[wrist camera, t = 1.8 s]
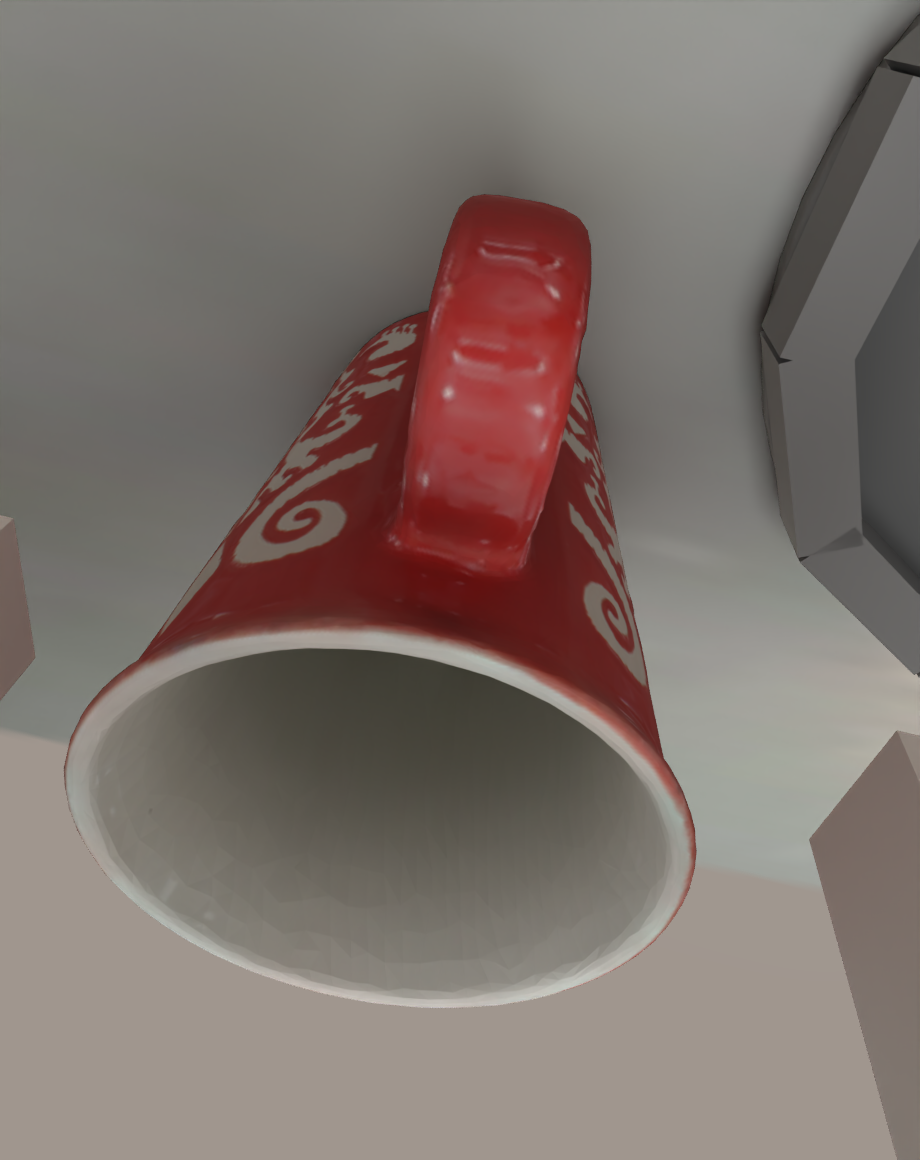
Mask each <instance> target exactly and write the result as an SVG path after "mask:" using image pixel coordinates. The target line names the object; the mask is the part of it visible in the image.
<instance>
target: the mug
mask: <svg viewBox="0 0 920 1160" xmlns="http://www.w3.org/2000/svg"><path fill="white" fill-rule="evenodd" d="M590 288H591V244H590V240H589V235H588V230H587V229H586V227H585V226H584V224H583V223H582V222H581V220H580V219H579V218H578V217H577V216H575V215H573V214H571V213H570V212H568V211H566V210H564V209H562V208H558V207H555V206H552V205H549V204H545V203H542V202H536V201H530V200H525V199H519V198H513V197H507V196H501V195H486V194H484V195H478V196H472V197H470V198H469V199H467V200H466V201H465V202H464V203H463V204H462V205H461V206H460V207H459V209H458V211H457V213H456V215H455V218H454V220H453V223H452V225H451V228H450V231H449V234H448V238H447V241H446V244H445V246H444V249H443V253H442V257H441V261H440V265H439V269H438V273H437V277H436V280H435V284H434V287H433V291H432V295H431V300H430V305H429V311H427V312H423V313H419V314H416V315H413V316H410V317H407V318H405V319H403V320H401V321H398V322H396V323H394V324H392V325H390V326H389V327H387V328H385V329H384V330H382V331H381V332H379V333H378V334H377V335H376V336H374V337H373V338H372V339H371V340H370V341H369V342H368V343H366V344H365V345H364V346H363V348H362V349H361V350H360V351H359V352H358V353H357V354H356V356H355V357H354V358H353V359H352V361H351V362H350V363H349V365H348V366H347V367H346V369H345V370H344V372H343V373H342V375H341V376H340V377H339V378H338V379H337V380H336V382H335V383H334V385H333V387H332V389H331V390H330V392H329V393H328V395H327V396H326V398H325V399H324V401H323V402H322V403H321V405H320V406H319V407H318V409H317V410H316V411H315V413H314V414H313V416H312V417H311V418H310V420H309V421H308V423H307V424H306V426H305V427H304V428H303V430H302V431H301V433H300V434H299V436H298V437H297V438H296V440H295V441H294V443H293V444H292V445H291V447H290V448H289V449H288V451H287V452H286V454H285V455H284V457H283V458H282V460H281V461H280V463H279V464H278V465H277V467H276V468H275V470H274V471H273V473H272V474H271V476H270V477H269V478H268V480H267V481H266V482H265V484H264V485H263V487H262V488H261V489H260V491H259V492H258V493H257V495H256V496H255V498H254V499H253V501H252V502H251V504H250V505H249V507H248V508H247V509H246V511H245V512H244V514H243V515H242V516H241V517H240V518H239V519H238V521H237V522H236V523H235V524H234V525H233V527H232V528H231V530H230V532H229V533H228V535H227V536H226V537H225V539H224V540H223V542H222V543H221V544H220V546H219V547H218V549H217V550H216V551H215V553H214V554H213V556H212V557H211V558H210V560H209V561H208V562H207V564H206V565H205V567H204V568H203V569H202V571H201V572H200V574H199V575H198V576H197V578H196V579H195V580H194V582H193V583H192V585H191V586H190V588H189V589H188V590H187V592H186V593H185V595H184V596H183V598H182V599H181V601H180V602H179V603H178V605H177V606H176V608H175V609H174V611H173V612H172V614H171V615H170V617H169V618H168V619H167V621H166V622H165V624H164V625H163V627H162V628H161V629H160V631H159V632H158V633H157V635H156V636H155V638H154V639H153V640H152V642H151V643H150V645H149V646H148V647H147V649H146V650H145V651H144V653H143V654H142V656H141V657H140V658H139V660H138V661H136V662H134V663H133V664H131V665H130V666H128V667H127V668H126V669H125V670H123V671H122V672H121V673H119V674H118V675H117V676H116V677H114V678H113V679H112V680H111V681H110V682H109V683H108V684H107V685H106V686H105V687H103V688H102V690H101V691H100V692H99V693H98V694H97V696H96V697H95V698H94V699H93V700H92V701H91V703H90V704H89V705H88V706H87V708H86V709H85V711H84V712H83V714H82V716H81V718H80V720H79V722H78V724H77V726H76V728H75V730H74V732H73V734H72V736H71V739H70V743H69V748H68V752H67V756H66V761H65V766H64V779H65V789H66V794H67V799H68V805H69V809H70V812H71V815H72V817H73V820H74V823H75V825H76V828H77V830H78V832H79V834H80V836H81V838H82V839H83V842H84V843H85V845H86V847H87V848H88V850H89V851H90V853H91V854H92V856H93V858H94V859H95V860H96V862H97V863H98V865H99V866H100V867H101V869H102V870H103V872H104V873H105V874H106V875H107V876H108V877H109V878H110V879H111V880H112V881H113V882H114V883H115V884H116V885H117V886H118V887H119V888H120V889H121V890H122V891H123V892H124V893H125V894H126V895H127V896H128V897H129V898H130V899H131V900H132V901H133V902H135V903H136V904H137V905H138V906H139V907H140V908H141V909H142V910H144V911H145V912H146V913H147V914H149V915H151V917H153V918H154V919H155V920H157V921H158V922H160V923H161V924H163V925H164V926H166V927H167V928H169V929H170V930H172V931H173V932H175V933H176V934H178V935H180V936H181V937H183V938H184V939H186V940H188V941H190V942H191V943H193V944H195V945H197V946H199V947H201V948H202V949H204V950H206V951H208V952H210V953H212V954H214V955H216V956H218V957H220V958H222V959H225V960H227V961H229V962H232V963H234V964H236V965H238V966H240V967H242V968H245V969H247V970H249V971H252V972H255V973H257V974H260V975H263V976H266V977H269V978H272V979H274V980H277V981H280V982H283V983H287V984H290V985H293V986H297V987H300V988H304V989H307V990H311V991H315V992H319V993H322V994H327V995H332V996H337V997H342V998H347V999H353V1000H358V1001H363V1002H370V1003H378V1004H388V1005H395V1006H408V1007H424V1008H464V1007H476V1006H492V1005H502V1004H509V1003H515V1002H521V1001H526V1000H531V999H535V998H539V997H544V996H548V995H552V994H555V993H558V992H561V991H565V990H568V989H571V988H574V987H577V986H580V985H582V984H585V983H587V982H590V981H592V980H595V979H597V978H599V977H601V976H603V975H605V974H607V973H609V972H611V971H612V970H614V969H616V968H618V967H620V966H621V965H623V964H625V963H626V962H628V961H630V960H631V959H633V958H634V957H636V956H637V955H638V954H639V953H641V952H642V951H643V950H644V949H645V948H647V947H648V946H649V945H651V944H652V943H653V942H654V941H655V940H656V939H657V937H658V936H659V935H660V934H661V933H662V932H663V931H664V930H665V929H666V928H667V926H668V925H669V923H670V922H671V921H672V919H673V917H674V916H675V915H676V913H677V912H678V910H679V909H680V907H681V905H682V904H683V901H684V899H685V897H686V895H687V893H688V891H689V888H690V885H691V881H692V877H693V873H694V869H695V860H696V843H695V828H694V824H693V820H692V816H691V812H690V810H689V807H688V804H687V801H686V799H685V796H684V793H683V791H682V789H681V787H680V785H679V783H678V781H677V779H676V777H675V776H674V774H673V772H672V770H671V768H670V767H669V765H668V764H667V762H666V761H665V760H664V758H663V753H662V748H661V743H660V739H659V734H658V729H657V724H656V719H655V715H654V710H653V705H652V700H651V695H650V690H649V684H648V677H647V671H646V666H645V661H644V656H643V651H642V646H641V641H640V637H639V634H638V630H637V626H636V622H635V618H634V609H633V604H632V600H631V597H630V594H629V591H628V586H627V581H626V576H625V571H624V566H623V561H622V556H621V552H620V547H619V542H618V537H617V532H616V526H615V521H614V516H613V511H612V507H611V501H610V496H609V491H608V486H607V482H606V477H605V472H604V467H603V463H602V459H601V452H600V447H599V442H598V437H597V432H596V426H595V421H594V418H593V414H592V409H591V405H590V402H589V399H588V396H587V394H586V391H585V389H584V387H583V384H582V382H581V381H580V379H579V377H578V375H577V367H578V361H579V357H580V351H581V343H582V339H583V336H584V334H585V331H586V326H587V314H588V305H589V297H590Z"/></svg>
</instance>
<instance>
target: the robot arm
mask: <svg viewBox="0 0 920 1160" xmlns="http://www.w3.org/2000/svg"><path fill="white" fill-rule="evenodd" d="M34 659H35V652H34V645H33V639H32V632H31V626H30V620H29V613H28V607H27V601H26V594H25V588H24V581H23V575H22V569H21V562H20V556H19V549H18V543H17V537H16V530H15V524H14V518H10V517H6V516H2V515H0V700H1V699H2V698H3V697H4V695H5V694H6V693H7V692H8V690H9V689H10V688H11V687H12V686H13V684H14V683H15V682H16V681H17V679H18V678H19V677H20V676H21V675H22V673H23V672H24V671H25V670H26V668H27V667H28V666H29V665H30V664H31V662H32V661H33V660H34ZM809 840H810V844H811V848H812V851H813V855H814V859H815V862H816V866H817V870H818V873H819V877H820V880H821V884H822V888H823V891H824V895H825V899H826V902H827V906H828V910H829V913H830V917H831V920H832V924H833V928H834V931H835V935H836V939H837V942H838V946H839V949H840V953H841V957H842V960H843V964H844V967H845V971H846V975H847V979H848V982H849V986H850V990H851V993H852V997H853V1000H854V1004H855V1008H856V1011H857V1015H858V1019H859V1022H860V1026H861V1030H862V1033H863V1037H864V1041H865V1044H866V1048H867V1051H868V1055H869V1058H870V1062H871V1066H872V1070H873V1073H874V1077H875V1081H876V1084H877V1088H878V1091H879V1095H880V1099H881V1102H882V1106H883V1109H884V1113H885V1117H886V1121H887V1124H888V1128H889V1131H890V1135H891V1138H892V1142H893V1146H894V1150H895V1153H896V1156H897V1160H920V736H918V735H914V734H910V733H905V732H901V731H896V732H895V734H894V735H893V736H892V737H891V739H890V740H889V741H888V742H887V743H886V745H885V746H884V747H883V748H882V750H881V751H880V752H879V753H878V755H877V756H876V757H875V758H874V760H873V761H872V762H871V763H870V765H869V766H868V767H867V768H866V770H865V771H864V772H863V773H862V775H861V776H860V777H859V778H858V780H857V781H856V782H855V783H854V784H853V786H852V787H851V788H850V789H849V791H848V792H847V793H846V794H845V796H844V797H843V798H842V799H841V801H840V802H839V803H838V804H837V806H836V807H835V808H834V809H833V811H832V812H831V813H830V814H829V816H828V817H827V818H826V819H825V820H824V822H823V823H822V824H821V825H820V827H819V828H818V829H817V830H816V832H815V833H814V834H813V835H812V837H811V838H810V839H809Z"/></svg>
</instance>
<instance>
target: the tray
mask: <svg viewBox="0 0 920 1160" xmlns="http://www.w3.org/2000/svg"><path fill="white" fill-rule="evenodd" d="M883 59H884V60H883V61H882V62H881V64H880V65H879V66H878V67H877V68H876V70H875V72H874V74H873V75H872V77H871V78H870V80H869V81H868V83H867V85H866V86H865V88H864V89H863V91H862V92H861V94H860V95H859V97H858V99H857V100H856V102H855V103H854V105H853V106H852V108H851V110H850V111H849V113H848V114H847V116H846V117H845V119H844V120H843V122H842V124H841V125H840V127H839V128H838V130H837V131H836V133H835V135H834V137H833V139H832V141H831V143H830V145H829V147H828V149H827V151H826V153H825V155H824V156H823V158H822V160H821V162H820V164H819V166H818V168H817V170H816V172H815V174H814V176H813V178H812V180H811V182H810V184H809V186H808V188H807V190H806V192H805V194H804V196H803V198H802V201H801V204H800V206H799V209H798V212H797V214H796V217H795V220H794V222H793V225H792V228H791V230H790V233H789V236H788V239H787V241H786V244H785V247H784V249H783V252H782V255H781V257H780V261H779V265H778V269H777V273H776V278H775V282H774V286H773V290H772V294H771V298H770V303H769V307H768V311H767V314H766V316H765V318H764V320H763V323H762V325H761V326H762V328H763V329H764V331H762V332H760V336H761V345H762V363H761V374H762V400H763V416H764V421H765V426H766V431H767V436H768V441H769V447H770V452H771V456H772V459H773V462H774V464H775V471H776V480H777V489H778V498H779V507H780V516H781V518H782V521H783V523H784V525H785V528H786V530H787V533H788V535H789V538H790V540H791V542H792V545H793V547H794V550H795V552H796V554H797V557H798V559H799V561H800V563H801V564H802V565H803V566H804V567H805V568H806V569H807V570H808V571H809V572H810V573H811V574H812V575H813V576H814V577H815V578H816V579H817V580H818V581H819V582H821V583H822V584H823V585H824V586H825V587H826V588H827V589H828V590H829V591H830V592H831V593H832V594H833V595H834V596H835V597H836V598H837V599H838V600H839V601H840V602H841V603H842V604H843V605H844V606H845V607H846V608H847V609H848V610H849V611H850V612H851V613H852V614H853V615H854V616H855V617H856V618H857V619H858V620H859V621H860V622H861V623H862V624H863V625H864V626H865V627H866V628H867V629H868V630H869V631H870V632H871V633H872V634H873V635H874V636H875V637H876V638H877V639H878V640H879V641H880V642H881V643H882V644H883V645H884V646H885V647H886V648H887V649H888V650H889V651H890V652H891V653H892V654H893V655H894V656H895V657H896V658H897V659H898V660H900V661H901V662H902V663H903V664H904V665H905V666H906V667H907V668H908V669H909V670H910V671H911V672H912V673H913V674H914V675H915V674H917V675H918V677H920V14H919V15H918V16H917V18H916V19H915V20H914V22H913V23H912V24H911V25H910V27H909V28H908V29H907V30H906V32H905V33H904V34H903V36H902V37H901V38H900V39H899V41H898V42H897V43H896V44H895V46H894V47H893V48H892V50H891V51H890V52H889V53H888V54H887V55H886V56H885V57H884V58H883Z"/></svg>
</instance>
